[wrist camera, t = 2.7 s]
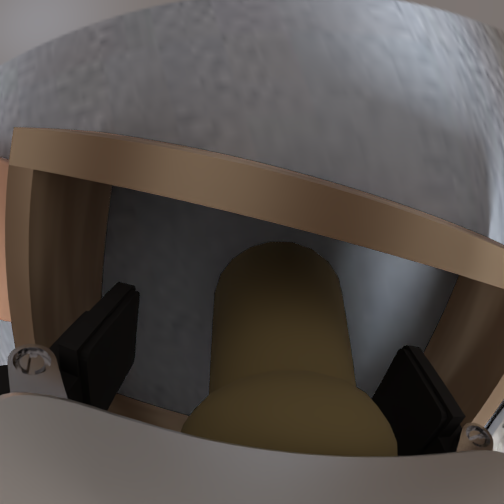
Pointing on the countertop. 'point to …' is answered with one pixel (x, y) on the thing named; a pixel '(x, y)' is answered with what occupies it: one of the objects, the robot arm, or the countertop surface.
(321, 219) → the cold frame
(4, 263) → the peach flat disc
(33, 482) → the robot arm
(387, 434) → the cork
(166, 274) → the countertop surface
